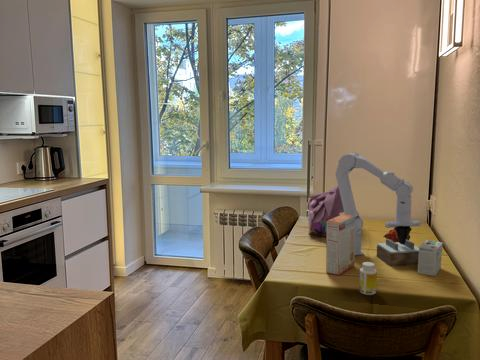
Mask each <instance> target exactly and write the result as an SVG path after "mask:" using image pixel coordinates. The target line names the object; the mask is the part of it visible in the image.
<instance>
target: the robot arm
mask: <svg viewBox="0 0 480 360" xmlns="http://www.w3.org/2000/svg"><path fill="white" fill-rule="evenodd" d="M354 169H364V171H366V172H368V173H370V174H371V175H374V176H376V177H377V178H378V179H379V181H380V183H381V184H382V185H383V186H385V187H387V188H388V189H390V190H391V191H393V192H395V194H396V204H395V205H396V208H395V210H396V211H395V220H394V221H389V222H388V221H386V222H385V226H384V227H385V228H387V229H390V228H393V229H394V228H395V230H396V232H397V235H398V238H399V243H400V244H405V242H406V239H407V236H408V235H409V234H410V233H411V231H412V227H421V224H422V223H421V221H420V220H411V219H412V193H413V192H414V187H413V185H412V184H411V183H410V182H409V181H405V179H404V178H403V179H402V178H400V177H398V176H397V175H395V174H396V173H395V172H393V171H384V170H382V169H381V168H379V167H378V166H377V165H375V164H374V163H373V162H371V161H370V160H368V159H367V158H365V156H363V155H361V154H359V153H357V152H350V153H345V154H343V155H342V156H341V157H340V159H339V160H338V164H337V167H336V171H335V178H336V182H337V185H338V187H339V191H340V196H341V200H342V204H343V209H344V212H343V214H346V215H353V216H355V256H360V255H361V256H362V255H365V252H363V251H362V234H363V233H362V230H361V229H362V228H363V226H364V221H363V219H362V218H361V216H360V213H359V211H358V210H357V207H356V204H355V199H354V198H355V197H354V194H353V189H352V187H351V186H352V185H351V183H350V182H351V181H350V177H349V175H350V174H351V173H352V171H353V170H354Z"/></svg>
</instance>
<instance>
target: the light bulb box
mask: <svg viewBox="0 0 480 360" xmlns="http://www.w3.org/2000/svg"><path fill="white" fill-rule="evenodd" d="M443 244H444V243H443V242H441V241H434V240H428V239H424V241H423V242H422V243H421V244H420V245H419V247H418V248H419V257H418V265H417V274H422V275H428V276H433V277H436V276H437V275H438V273H439V271H440V270H441V269H442V268H441V267H442V256H443Z"/></svg>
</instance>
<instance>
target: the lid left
mask: <svg viewBox="0 0 480 360" xmlns="http://www.w3.org/2000/svg"><path fill="white" fill-rule="evenodd" d="M377 245H379V246H380V247H382V248H383V249H385V250H386V251H388V252H390V253H407V251H406V250H404V249H402V248H401V247H399V246H398V244H397V243H395V242H393V241H392V240H390V239H386V238H385V242H382V243H381V242H379V243H377Z"/></svg>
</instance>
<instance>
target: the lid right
mask: <svg viewBox="0 0 480 360" xmlns="http://www.w3.org/2000/svg"><path fill="white" fill-rule="evenodd" d="M395 243H397V244H398V246H399V247H401V248H402V249H404V250H406V251H407V253H409V252H419V247H418V246H416V245H415V243H414V242H412V241H410V239H409V240H407V239H406V242H405V244H400V243H399V242H395Z"/></svg>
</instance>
